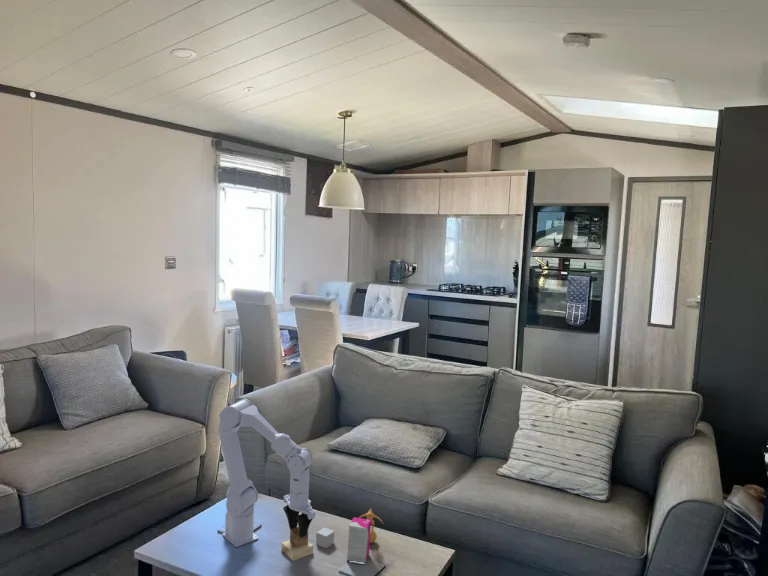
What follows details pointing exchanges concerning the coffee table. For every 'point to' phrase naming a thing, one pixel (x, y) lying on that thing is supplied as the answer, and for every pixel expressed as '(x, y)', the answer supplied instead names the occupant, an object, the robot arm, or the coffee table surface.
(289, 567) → the coffee table surface
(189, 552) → the coffee table surface
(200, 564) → the coffee table surface
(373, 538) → the figurine
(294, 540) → the walnut cube
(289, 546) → the beech slab
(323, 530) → the grey cube
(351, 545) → the supplement box
